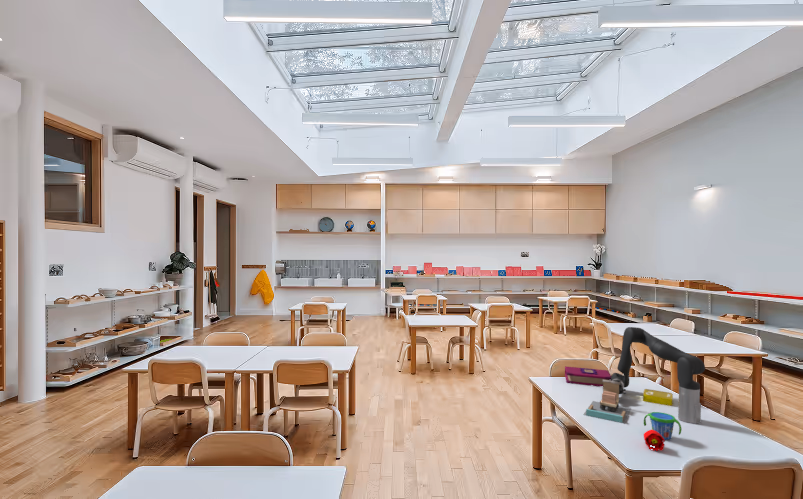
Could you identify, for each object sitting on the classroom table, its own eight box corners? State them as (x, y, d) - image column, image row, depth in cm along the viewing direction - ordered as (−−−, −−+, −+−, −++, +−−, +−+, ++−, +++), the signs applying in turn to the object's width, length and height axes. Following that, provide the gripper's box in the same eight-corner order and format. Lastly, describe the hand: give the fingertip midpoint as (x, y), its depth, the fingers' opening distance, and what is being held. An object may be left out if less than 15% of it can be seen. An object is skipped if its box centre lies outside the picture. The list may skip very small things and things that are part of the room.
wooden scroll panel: (602, 404, 255) (602, 379, 255) (619, 407, 250) (620, 382, 250) (598, 409, 246) (599, 383, 246) (616, 413, 241) (617, 386, 241)
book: (564, 375, 318) (564, 364, 318) (607, 379, 310) (607, 368, 310) (566, 383, 298) (566, 372, 298) (612, 388, 290) (612, 376, 290)
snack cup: (639, 434, 214) (640, 413, 214) (649, 429, 221) (649, 408, 221) (675, 445, 202) (676, 423, 202) (684, 440, 209) (684, 418, 209)
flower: (664, 434, 202) (668, 440, 194) (656, 448, 203) (660, 455, 195) (647, 424, 204) (650, 430, 197) (638, 438, 205) (641, 445, 198)
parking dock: (592, 401, 260) (593, 395, 260) (631, 409, 249) (631, 402, 249) (583, 415, 237) (583, 409, 237) (624, 424, 226) (625, 417, 226)
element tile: (672, 407, 256) (672, 398, 256) (642, 401, 264) (642, 393, 264) (672, 400, 269) (672, 392, 269) (644, 395, 277) (644, 387, 277)
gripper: (604, 377, 273) (599, 384, 258) (628, 381, 266) (624, 388, 251) (604, 390, 273) (599, 397, 258) (628, 394, 266) (624, 402, 251)
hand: (611, 393), depth 255 cm, fingers closed
